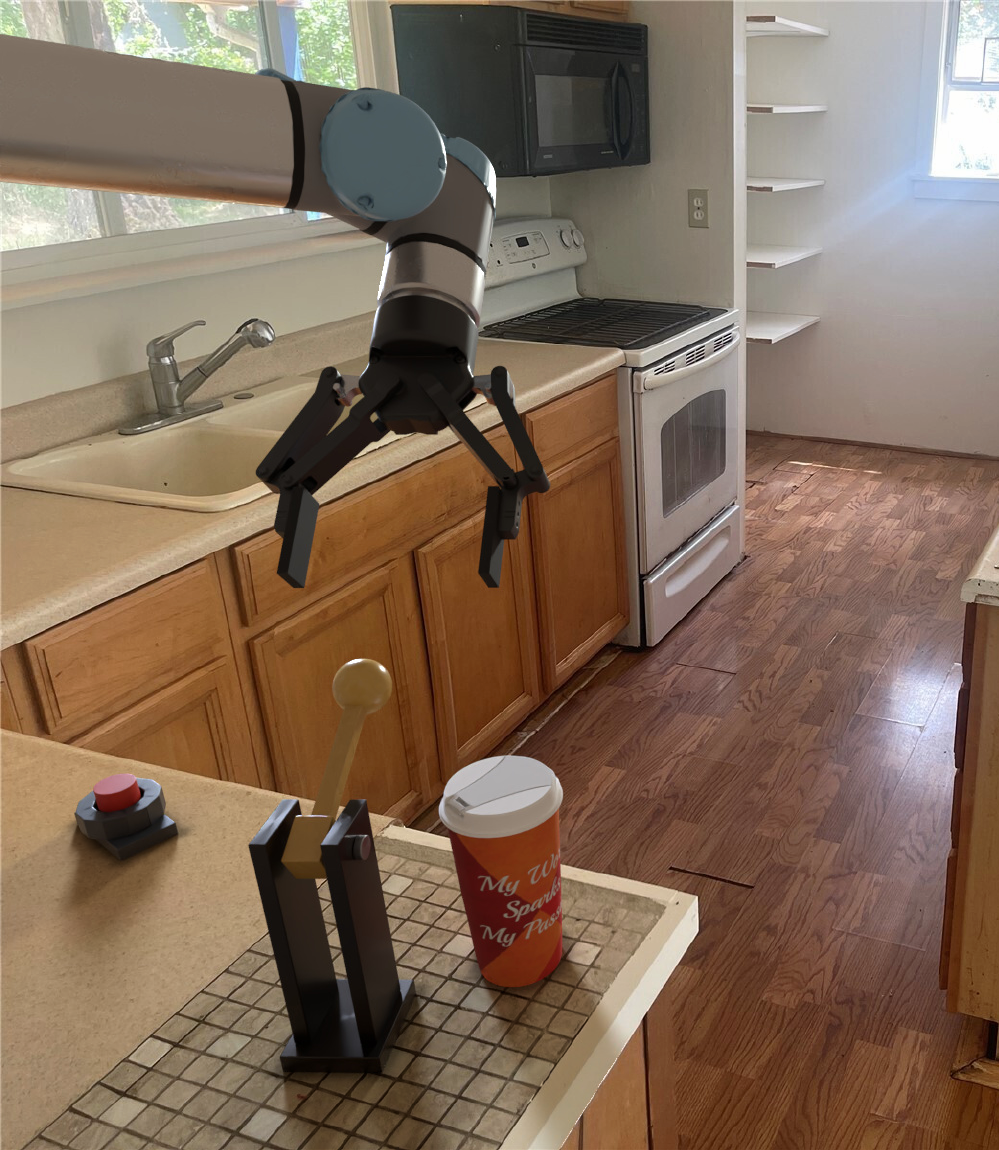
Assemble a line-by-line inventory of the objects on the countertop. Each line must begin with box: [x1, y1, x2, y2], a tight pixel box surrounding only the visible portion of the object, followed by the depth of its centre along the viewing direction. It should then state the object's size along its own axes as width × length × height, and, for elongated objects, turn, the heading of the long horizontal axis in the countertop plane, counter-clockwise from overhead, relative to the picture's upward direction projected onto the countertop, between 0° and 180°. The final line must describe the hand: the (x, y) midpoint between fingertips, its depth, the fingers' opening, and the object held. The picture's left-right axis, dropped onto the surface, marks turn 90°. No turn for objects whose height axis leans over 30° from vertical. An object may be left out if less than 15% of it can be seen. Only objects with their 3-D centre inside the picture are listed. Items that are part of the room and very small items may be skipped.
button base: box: [73, 777, 179, 862], centre depth 86 cm, size 8×6×3 cm
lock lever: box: [281, 658, 393, 880], centre depth 65 cm, size 14×4×4 cm, turn 179°
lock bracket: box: [247, 798, 417, 1074], centre depth 64 cm, size 6×6×16 cm
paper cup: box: [438, 755, 564, 988], centre depth 70 cm, size 8×8×14 cm
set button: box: [92, 773, 141, 812], centre depth 86 cm, size 3×3×2 cm
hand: (389, 581), depth 73 cm, fingers open, 13 cm apart
